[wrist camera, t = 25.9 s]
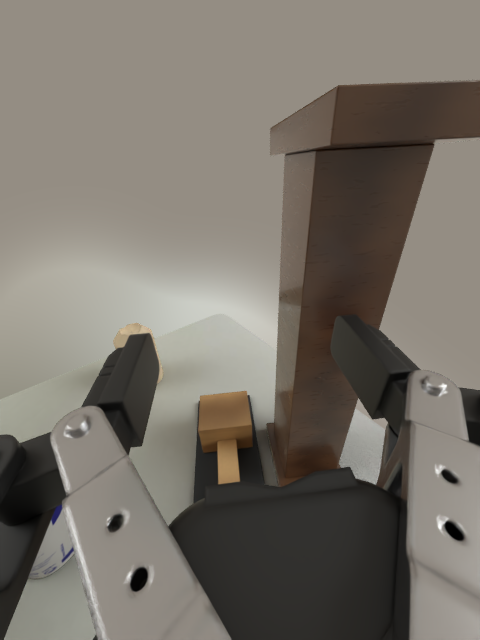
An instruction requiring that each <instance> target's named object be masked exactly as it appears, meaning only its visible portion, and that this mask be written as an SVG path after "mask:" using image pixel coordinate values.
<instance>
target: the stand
mask: <svg viewBox="0 0 480 640" xmlns="http://www.w3.org/2000/svg"><path fill="white" fill-rule="evenodd" d="M470 140H480V80H466V81H465V80H464V81H438V82H412V83H387V84H361V85H338V86H337V87H335V88H334V89H332V90H330V91H329V92H327V93H326V94H324V95H322V96H321V97H320V98H318V99H316V100H315V101H313V102H311V103H310V104H308V105H307V106H305V107H303V108H302V109H300V110H299V111H297V112H296V113H294V114H292V115H291V116H289V117H288V118H286V119H284V120H283V121H281V122H280V123H278V124H277V125H275V126H273V127H272V128H271V131H270V155H271V156H276V155H285V164H284V188H283V213H282V239H281V263H280V288H279V289H280V290H279V313H278V338H277V363H276V389H275V414H274V423H267V424H266V430H267V434H268V439H269V444H270V449H271V453H272V458H273V463H274V467H275V472H276V477H277V482H278V486H279V487H282V486H285V485H287V484H289V483H292V482H294V481H296V480H298V479H300V478H302V477H304V476H307V475H309V474H311V473H313V472H315V471H323V470H330V469H338V468H341V467H340V465H339V460H340V457H341V453H342V450H343V447H344V443H345V440H346V437H347V433H348V430H349V427H350V423H351V420H352V417H353V413H354V410H355V407H356V404H357V400H358V396H357V395H356V393H355V391H354V390H353V388H352V387H351V385H350V384H349V382H348V380H347V379H346V377H345V376H344V374H343V373H342V371H341V369H340V368H339V366H338V365H337V363H336V362H335V360H334V358H333V357H332V354H331V348H330V345H331V339H332V334H333V329H334V323H335V319H336V317H337V316H342V315H353V314H356V315H358V316H359V317H360V318H361V319H362V320H363V321H364V323H365V324H366V325H367V324H369V325H371V326H373V327H375V328H376V329H378V330H379V327H380V324H381V321H382V317H383V314H384V311H385V307H386V304H387V300H388V297H389V294H390V290H391V287H392V284H393V281H394V277H395V274H396V271H397V267H398V264H399V261H400V257H401V254H402V251H403V248H404V244H405V241H406V238H407V234H408V231H409V228H410V224H411V221H412V218H413V214H414V211H415V208H416V204H417V201H418V197H419V194H420V191H421V188H422V184H423V181H424V178H425V174H426V171H427V168H428V164H429V161H430V157H431V155H432V151H433V148H434V144H439V143H449V142H459V141H470Z"/></svg>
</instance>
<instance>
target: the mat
mask: <svg viewBox="0 0 480 640" xmlns="http://www.w3.org/2000/svg"><path fill="white" fill-rule="evenodd" d="M247 396H248V403H249V409H250V415H251V422H252V441H253V447H249V448H240V449H237V452H238V463H239V475H240V481H243V482H250V483H256V484H263V485H264V479H263V473H262V467H261V462H260V456H259V450H258V444H257V438H256V432H255V426H254V420H253V414H252V408H251V402H250V396H249V395H247ZM199 408H200V401H199V407H198V427H199ZM198 427H197V446H196V466H195V486H194V503H196V502H197V501H199V500H201V499H204V498H205V486H209V485H217V484H218V451H216V452H207V453H203V449H202V445H201V440H200V436H199V432H198Z"/></svg>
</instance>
